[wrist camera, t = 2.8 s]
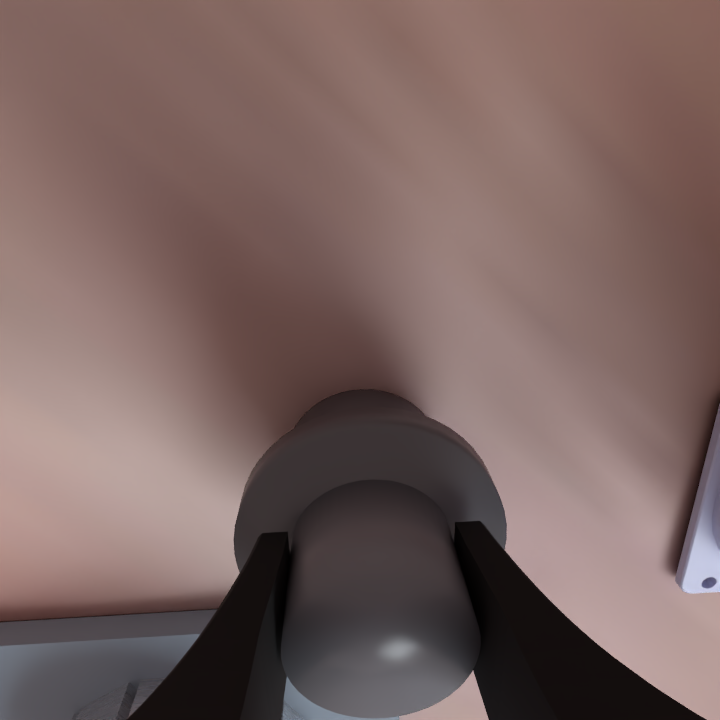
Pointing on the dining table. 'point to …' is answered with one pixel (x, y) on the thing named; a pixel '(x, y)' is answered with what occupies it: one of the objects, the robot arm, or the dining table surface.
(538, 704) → the robot arm
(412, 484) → the grey rounded knob
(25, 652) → the mount plate
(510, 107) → the dining table surface
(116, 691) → the segmented white ring
